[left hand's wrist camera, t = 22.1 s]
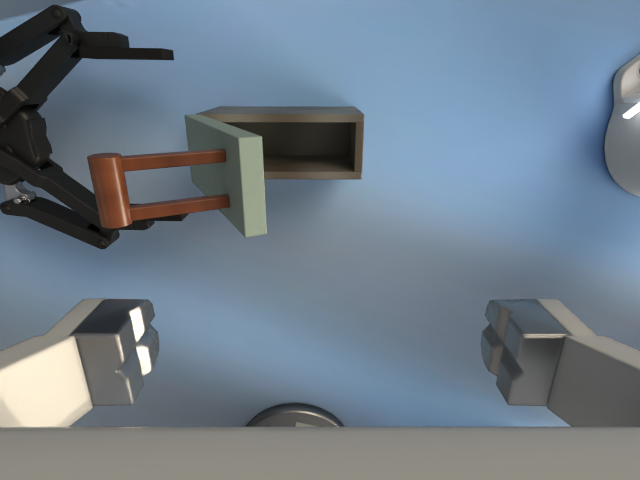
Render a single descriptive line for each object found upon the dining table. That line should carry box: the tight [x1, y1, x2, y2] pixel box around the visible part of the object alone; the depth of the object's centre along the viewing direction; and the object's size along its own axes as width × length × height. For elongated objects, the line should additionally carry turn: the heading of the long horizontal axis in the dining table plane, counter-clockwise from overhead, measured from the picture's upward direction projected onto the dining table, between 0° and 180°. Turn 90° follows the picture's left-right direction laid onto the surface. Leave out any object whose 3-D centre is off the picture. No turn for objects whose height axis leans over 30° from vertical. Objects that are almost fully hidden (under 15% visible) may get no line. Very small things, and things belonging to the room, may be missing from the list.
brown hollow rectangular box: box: [196, 107, 364, 179], centre depth 39 cm, size 14×5×9 cm, turn 90°
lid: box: [87, 114, 267, 237], centre depth 27 cm, size 15×5×8 cm
